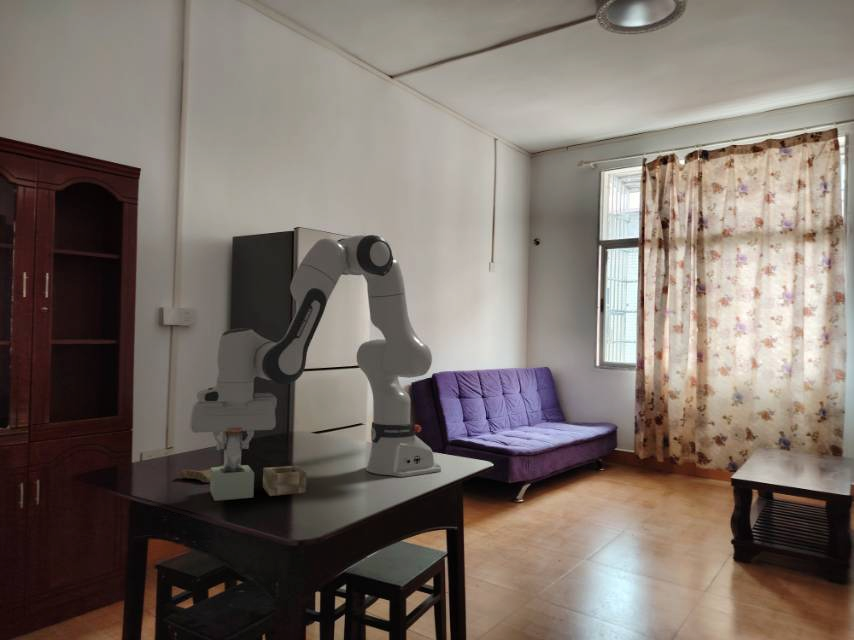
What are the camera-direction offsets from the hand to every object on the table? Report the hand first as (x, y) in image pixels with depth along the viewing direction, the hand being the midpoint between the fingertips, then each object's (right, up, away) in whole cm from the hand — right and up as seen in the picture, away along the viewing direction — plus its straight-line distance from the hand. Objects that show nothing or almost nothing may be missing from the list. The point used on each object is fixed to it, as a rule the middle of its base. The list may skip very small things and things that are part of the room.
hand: (232, 449), depth 152 cm
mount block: (+11, -12, +6) cm, 17 cm away
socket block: (0, -11, 0) cm, 11 cm away
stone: (-11, -12, +17) cm, 23 cm away
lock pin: (0, -8, 0) cm, 8 cm away
